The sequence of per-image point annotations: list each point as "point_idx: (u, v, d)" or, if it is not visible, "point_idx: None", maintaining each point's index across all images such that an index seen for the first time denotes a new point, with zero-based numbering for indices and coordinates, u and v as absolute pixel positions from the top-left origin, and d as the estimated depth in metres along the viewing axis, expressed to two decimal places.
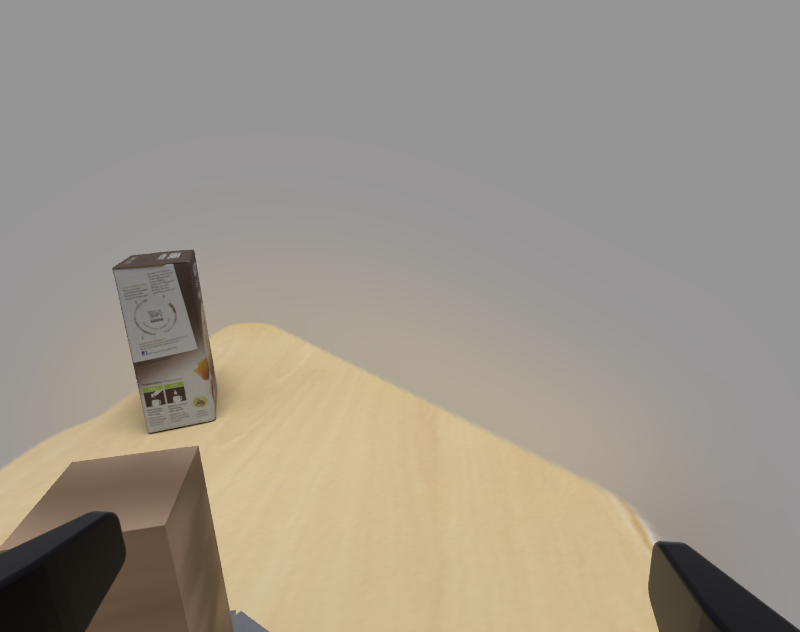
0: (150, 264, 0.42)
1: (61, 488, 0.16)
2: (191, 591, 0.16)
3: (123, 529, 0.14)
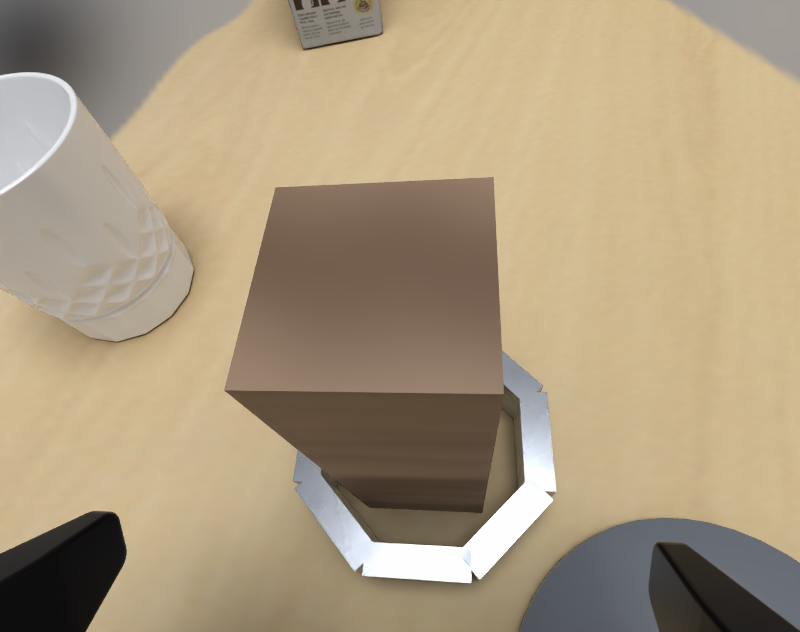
0: None
1: (279, 253, 0.09)
2: None
3: (426, 387, 0.07)
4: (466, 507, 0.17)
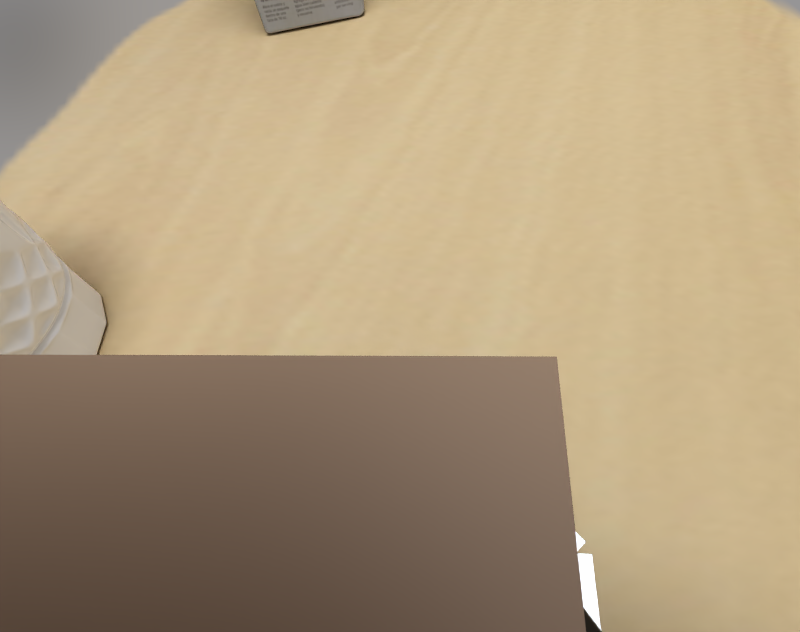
0: None
1: None
2: None
3: None
4: None
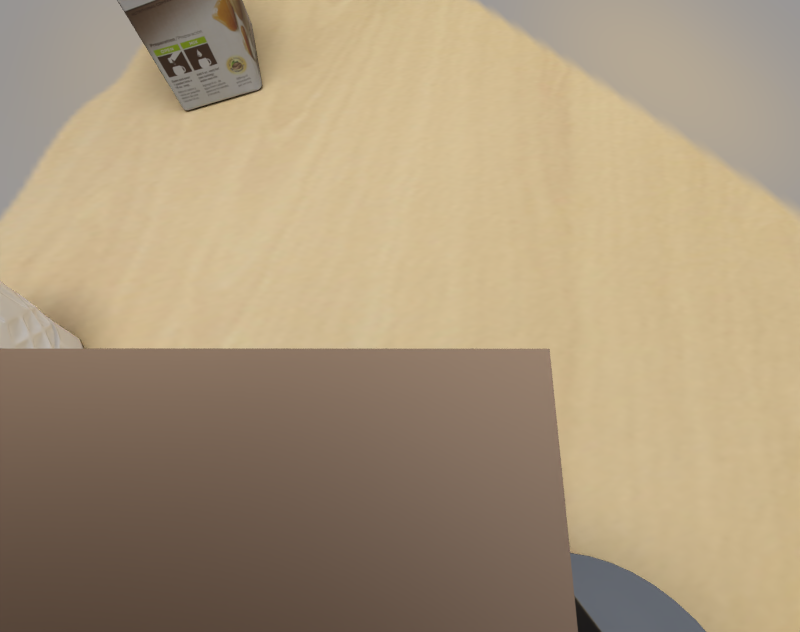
0: None
1: None
2: None
3: None
4: None
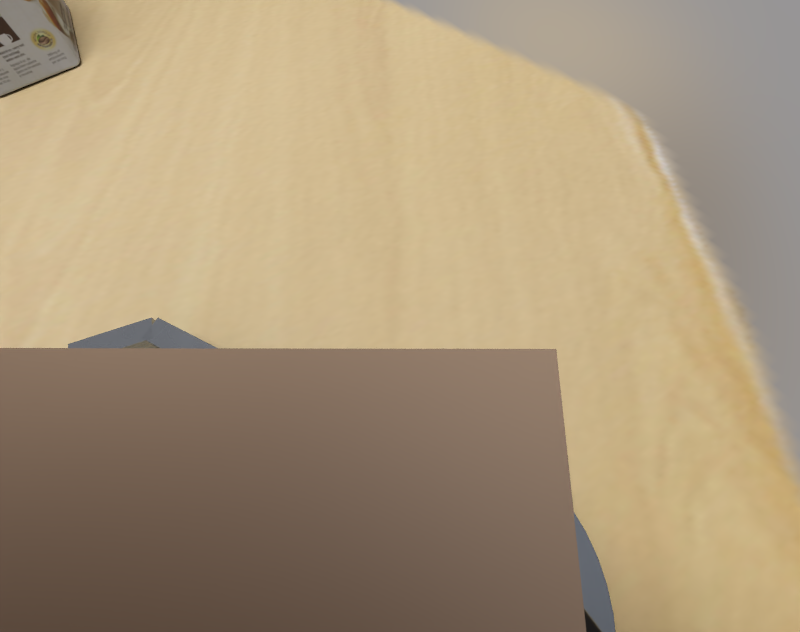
0: None
1: None
2: None
3: None
4: None
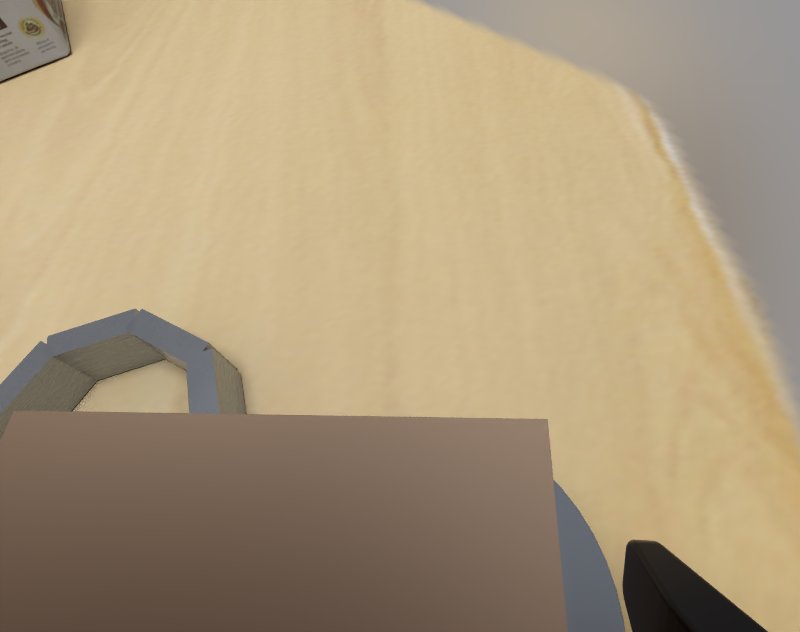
0: None
1: None
2: None
3: None
4: None
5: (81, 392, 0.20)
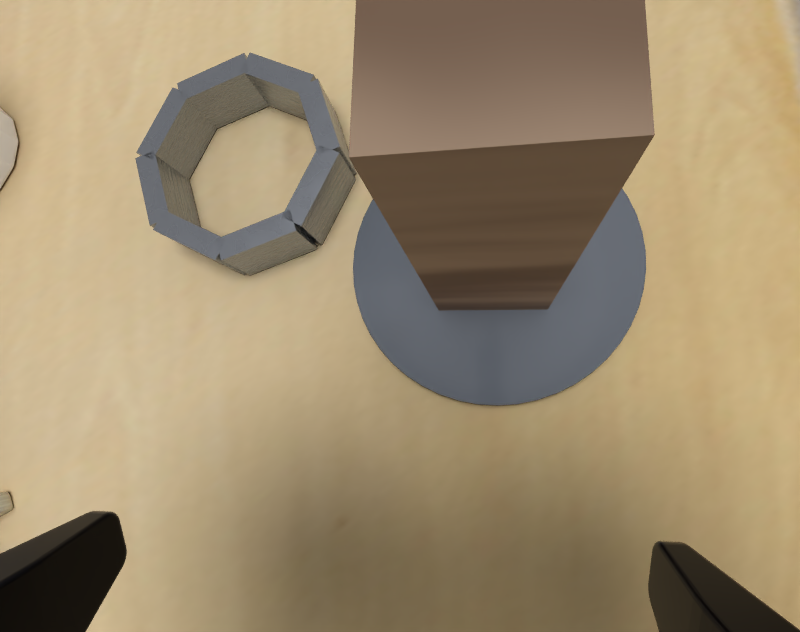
0: None
1: (379, 2, 0.08)
2: None
3: (566, 135, 0.07)
4: (535, 303, 0.18)
5: (208, 137, 0.24)
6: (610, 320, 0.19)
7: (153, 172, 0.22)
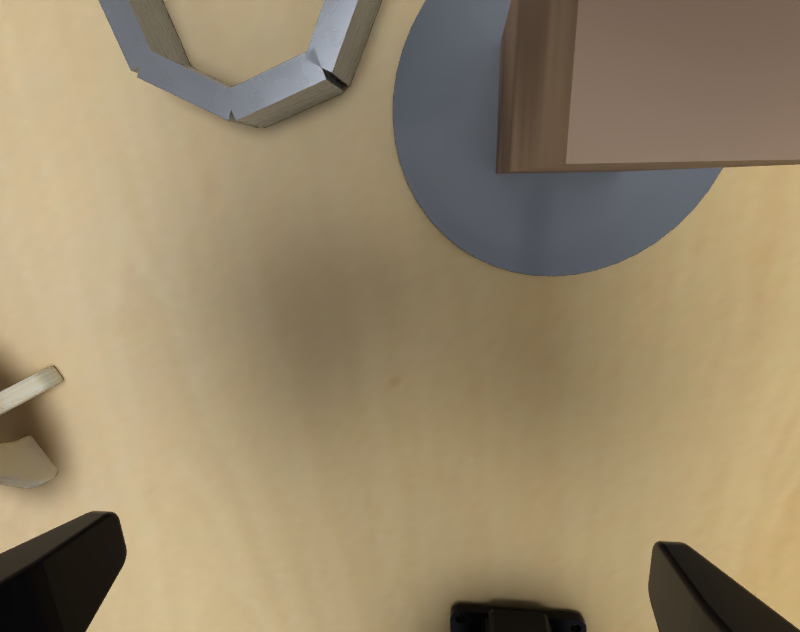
0: None
1: None
2: None
3: None
4: (612, 171, 0.16)
5: None
6: (688, 184, 0.17)
7: None
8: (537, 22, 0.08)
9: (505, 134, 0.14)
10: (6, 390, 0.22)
